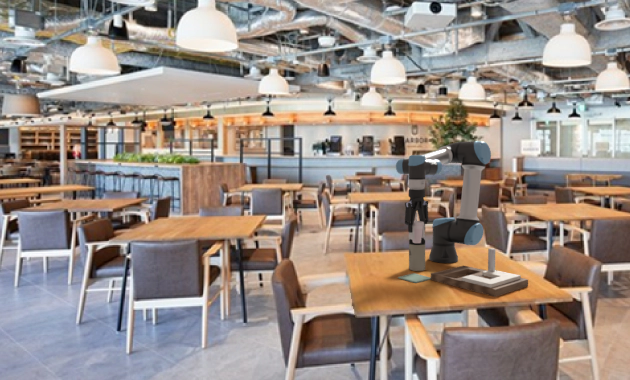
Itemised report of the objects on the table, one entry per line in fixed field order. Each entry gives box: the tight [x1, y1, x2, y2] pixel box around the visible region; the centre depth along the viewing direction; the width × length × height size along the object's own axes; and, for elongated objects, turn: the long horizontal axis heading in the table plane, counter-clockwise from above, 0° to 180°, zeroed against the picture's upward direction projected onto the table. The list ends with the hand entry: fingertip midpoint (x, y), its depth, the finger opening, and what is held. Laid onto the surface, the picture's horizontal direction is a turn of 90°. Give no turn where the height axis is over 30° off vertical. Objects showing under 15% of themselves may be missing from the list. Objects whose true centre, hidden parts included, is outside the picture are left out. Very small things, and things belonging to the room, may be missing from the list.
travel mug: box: [408, 233, 426, 272], centre depth 233 cm, size 8×8×18 cm
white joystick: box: [462, 247, 522, 288], centre depth 201 cm, size 14×22×12 cm, turn 126°
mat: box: [397, 272, 431, 284], centre depth 216 cm, size 11×11×1 cm
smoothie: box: [412, 211, 424, 243], centre depth 214 cm, size 6×6×14 cm
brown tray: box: [430, 265, 529, 298], centre depth 208 cm, size 33×24×3 cm
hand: (416, 238), depth 215 cm, fingers closed on smoothie, 6 cm apart
